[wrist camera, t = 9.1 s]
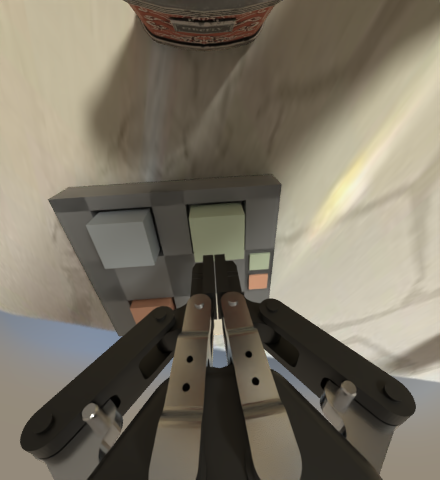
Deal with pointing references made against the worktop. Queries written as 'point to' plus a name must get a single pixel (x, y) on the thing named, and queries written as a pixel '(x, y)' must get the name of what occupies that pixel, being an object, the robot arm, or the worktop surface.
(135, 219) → the slate key
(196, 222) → the sage key
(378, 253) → the worktop surface
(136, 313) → the terracotta key
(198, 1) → the lighter
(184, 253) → the keypad
